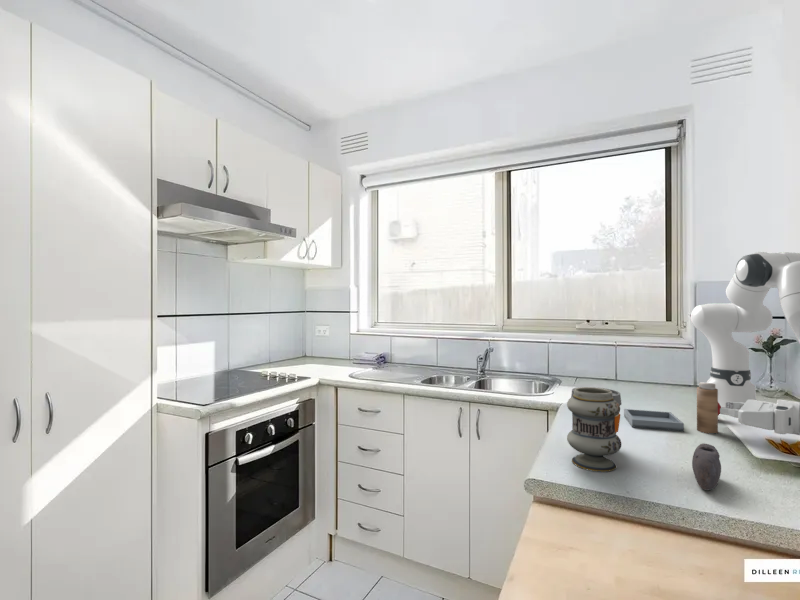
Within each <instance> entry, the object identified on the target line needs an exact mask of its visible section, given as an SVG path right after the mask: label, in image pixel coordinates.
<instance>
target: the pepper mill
mask: <svg viewBox="0 0 800 600" xmlns="http://www.w3.org/2000/svg"><path fill="white" fill-rule="evenodd" d="M718 423H719V415H718V389H715V384H713V383H706V382H704V381H703V382H698V386H697V387H696V431H698V432H701V433H703V432H704V434H709V433H717V434H718V433H719V424H718Z"/></svg>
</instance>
